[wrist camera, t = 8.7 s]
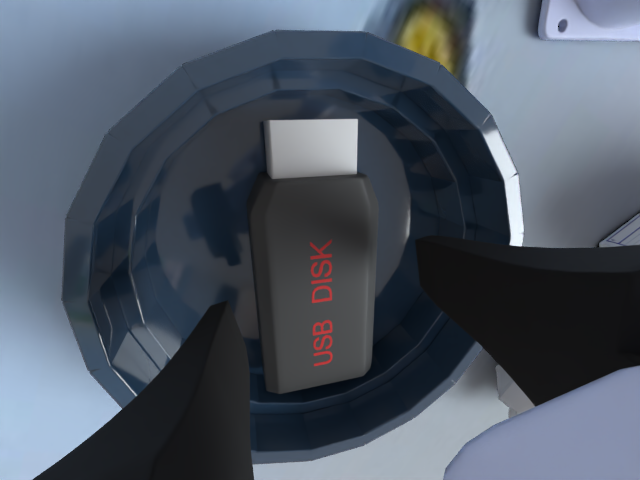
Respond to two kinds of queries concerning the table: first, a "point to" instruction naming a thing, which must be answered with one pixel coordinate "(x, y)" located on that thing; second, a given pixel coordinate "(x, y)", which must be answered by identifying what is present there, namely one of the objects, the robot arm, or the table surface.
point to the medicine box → (624, 234)
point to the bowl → (233, 232)
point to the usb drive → (313, 255)
